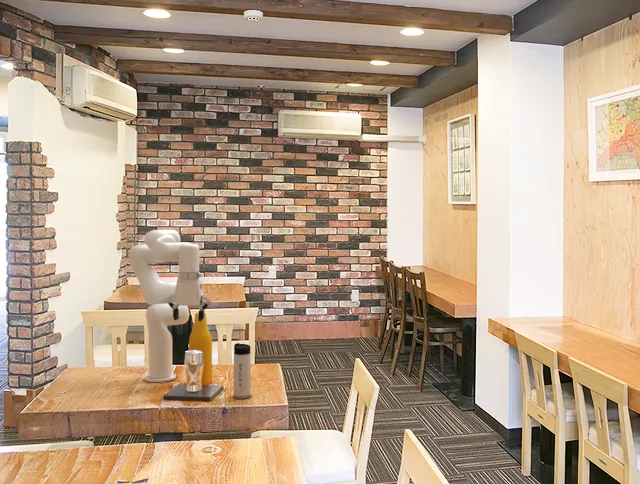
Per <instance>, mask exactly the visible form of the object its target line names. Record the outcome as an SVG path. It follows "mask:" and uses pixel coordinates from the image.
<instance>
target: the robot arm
mask: <svg viewBox="0 0 640 484" xmlns="http://www.w3.org/2000/svg"><path fill="white" fill-rule="evenodd" d="M143 241H144V243H143V244H137V245H133V246H132V247H131V248H130V249H129V252H128V261H129V266H130V268H131V270H132V272H133V273H134V275H135V277H136V279H137V281H138V284H139V287H140V290H141V293H142V296H143V299H144V301H145V303H146V304H147V305H149V307H147V309H146V310H145V319H146V325H147V333H148V334H147V335H148V336H147V337H148V338H147V339H148V374H146V375H145V376H144V380H145V382H149V383H164V382H170V381H173V380H175V379H177V374H176V373H174V372H173V369H174V368H175V365H174V364H173V335H172V333H171V332H170V330H169V329H168V328H167V327H170V326H178V325H185V324H186V323H187V322H188V321H189V318H190V310H189V307H197V308H198V312H199V321H202V320H203V319H204V312H205V310H206V309H207V308H208V307H209V305H210V303H211V302H212V299H211V298H209V297H208V296H207V295H205V294H204V288H203V282H202V279H200V278H203V276H204V273H201V272H200V246H199V245H198V244H195V243H192V242H188V241H187V242H186V241H181V235H180V234H179V232H178V231H176V230H175V229H152V230H150V231H148V232H146V234H145V235H144V238H143ZM174 262H178V279H176V281H162V280H161V278H160V274H159V273H158V272H157V271H156V269H154V268H153V267H152V266H150V265H149V264H166V263H174ZM204 301H205V304H203V303H204Z"/></svg>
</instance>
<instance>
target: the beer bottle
mask: <svg viewBox="0 0 640 484" xmlns="http://www.w3.org/2000/svg"><path fill="white" fill-rule="evenodd" d="M207 320H208V319H207V312H205V311H204V319H203V320H202V321H199V311H197V312H195V313H194V321H193V328H192V331H191V333H190V335H189V339H188V351H190V350H201V351H203V371H202V377H201V385H211V384H212V382H213V338H212V334H211V332H210V329H209V327H208V321H207Z"/></svg>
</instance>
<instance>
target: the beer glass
mask: <svg viewBox="0 0 640 484" xmlns="http://www.w3.org/2000/svg"><path fill="white" fill-rule="evenodd" d="M184 371H185V377H186V385H187V386H186V392H190V393H194V392H200V391H202V385H201V377H202V371H203V351H201V350H190V351H189V350H187V351H185V353H184Z"/></svg>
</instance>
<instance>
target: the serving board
mask: <svg viewBox="0 0 640 484" xmlns="http://www.w3.org/2000/svg"><path fill="white" fill-rule="evenodd" d="M186 386H187V384H184V383H183V384H182V383H181V384H177V385H176V386H175V387H173V388H172V389H170V390H169V391H168V392H166V393H165V394H163V396H162V397H163V398H162V400H164V401H194V402H195V401H196V402H197V401H198V402H211V401H212V400H213V399H215V397H217V396H218V395H219V394H220V393H221V392H223V390H224V385H216V384H215V385H214V384H208V385H202V391H200V392H194V393H190V392H186Z"/></svg>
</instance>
